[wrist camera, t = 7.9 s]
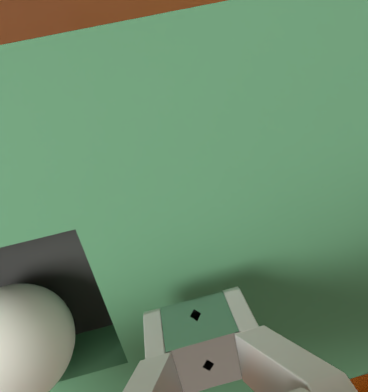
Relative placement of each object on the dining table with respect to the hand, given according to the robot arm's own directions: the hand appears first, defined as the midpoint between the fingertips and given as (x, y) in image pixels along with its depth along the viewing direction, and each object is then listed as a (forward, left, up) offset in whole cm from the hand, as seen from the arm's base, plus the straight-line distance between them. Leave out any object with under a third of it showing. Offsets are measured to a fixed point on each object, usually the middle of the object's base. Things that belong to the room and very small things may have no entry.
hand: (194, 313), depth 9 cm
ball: (+6, 0, -1) cm, 6 cm away
